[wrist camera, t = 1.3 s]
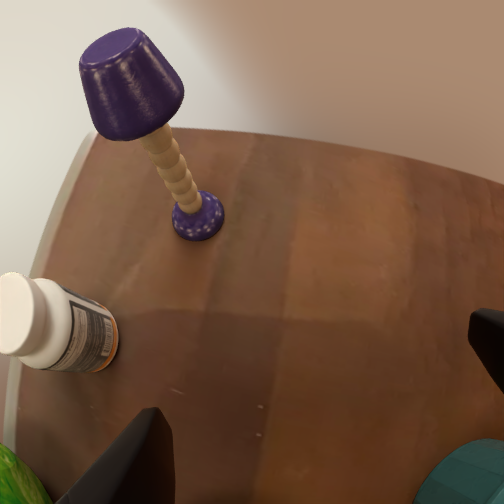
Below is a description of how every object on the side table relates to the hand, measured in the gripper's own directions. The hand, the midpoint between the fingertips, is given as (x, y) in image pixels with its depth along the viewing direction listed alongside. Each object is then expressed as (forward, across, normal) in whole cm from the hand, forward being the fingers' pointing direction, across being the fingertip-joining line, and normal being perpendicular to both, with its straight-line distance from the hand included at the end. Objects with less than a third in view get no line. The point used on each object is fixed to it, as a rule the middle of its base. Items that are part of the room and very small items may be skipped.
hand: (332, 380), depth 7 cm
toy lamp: (+19, +4, -2) cm, 20 cm away
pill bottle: (+15, +15, +4) cm, 21 cm away
